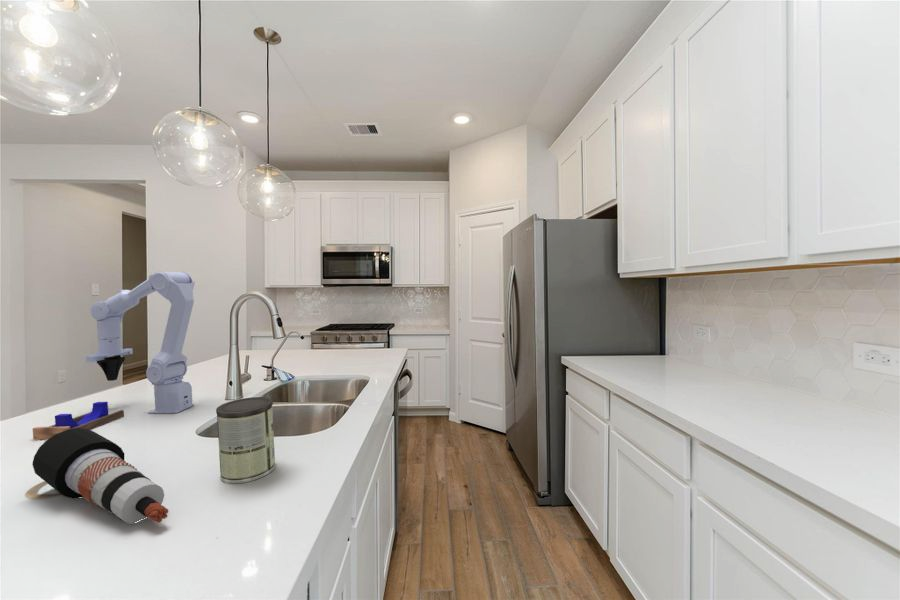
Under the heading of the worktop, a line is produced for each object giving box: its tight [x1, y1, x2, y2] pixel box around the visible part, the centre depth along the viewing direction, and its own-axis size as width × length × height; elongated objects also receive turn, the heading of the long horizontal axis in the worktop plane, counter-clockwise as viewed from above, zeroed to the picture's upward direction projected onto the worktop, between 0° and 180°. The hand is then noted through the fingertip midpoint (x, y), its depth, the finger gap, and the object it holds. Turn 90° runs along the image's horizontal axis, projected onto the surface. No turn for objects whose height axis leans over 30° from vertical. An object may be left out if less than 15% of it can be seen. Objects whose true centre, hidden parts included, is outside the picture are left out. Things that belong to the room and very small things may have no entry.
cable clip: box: [54, 401, 109, 429], centre depth 107 cm, size 12×4×6 cm, turn 178°
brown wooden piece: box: [32, 409, 125, 441], centre depth 109 cm, size 9×17×3 cm, turn 178°
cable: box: [32, 428, 169, 525], centre depth 69 cm, size 10×34×10 cm, turn 62°
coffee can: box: [215, 396, 277, 485], centre depth 79 cm, size 10×10×14 cm
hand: (112, 380), depth 125 cm, fingers closed
